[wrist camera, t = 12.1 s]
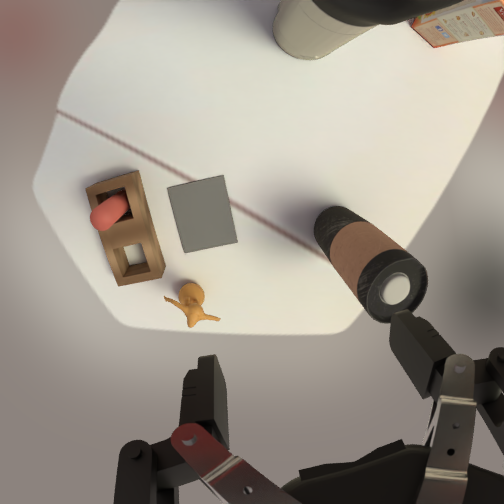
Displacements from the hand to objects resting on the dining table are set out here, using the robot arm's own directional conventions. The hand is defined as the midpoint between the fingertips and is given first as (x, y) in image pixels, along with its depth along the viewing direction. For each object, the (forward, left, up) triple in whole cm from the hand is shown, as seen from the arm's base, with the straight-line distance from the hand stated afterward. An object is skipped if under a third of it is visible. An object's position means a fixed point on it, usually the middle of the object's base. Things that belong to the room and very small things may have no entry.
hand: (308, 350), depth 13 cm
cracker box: (-27, +37, -33) cm, 57 cm away
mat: (+2, -7, -33) cm, 34 cm away
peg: (-3, -18, -33) cm, 38 cm away
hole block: (+1, -18, -33) cm, 38 cm away
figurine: (+13, -11, -33) cm, 37 cm away
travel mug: (+8, +12, -33) cm, 36 cm away
